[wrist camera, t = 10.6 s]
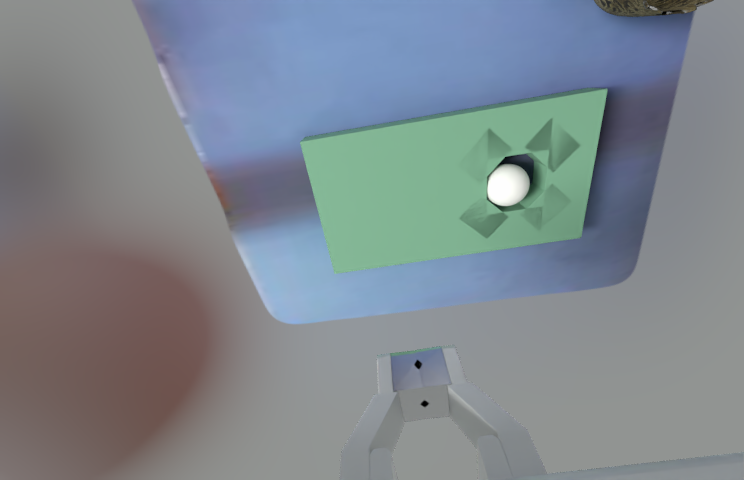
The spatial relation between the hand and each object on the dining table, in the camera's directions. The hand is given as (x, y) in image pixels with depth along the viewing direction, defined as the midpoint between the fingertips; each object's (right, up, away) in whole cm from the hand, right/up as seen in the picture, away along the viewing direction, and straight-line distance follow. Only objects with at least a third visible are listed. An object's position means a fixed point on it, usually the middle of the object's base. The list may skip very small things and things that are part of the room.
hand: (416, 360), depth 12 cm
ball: (+11, +10, +18) cm, 23 cm away
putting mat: (+6, +10, +20) cm, 23 cm away
